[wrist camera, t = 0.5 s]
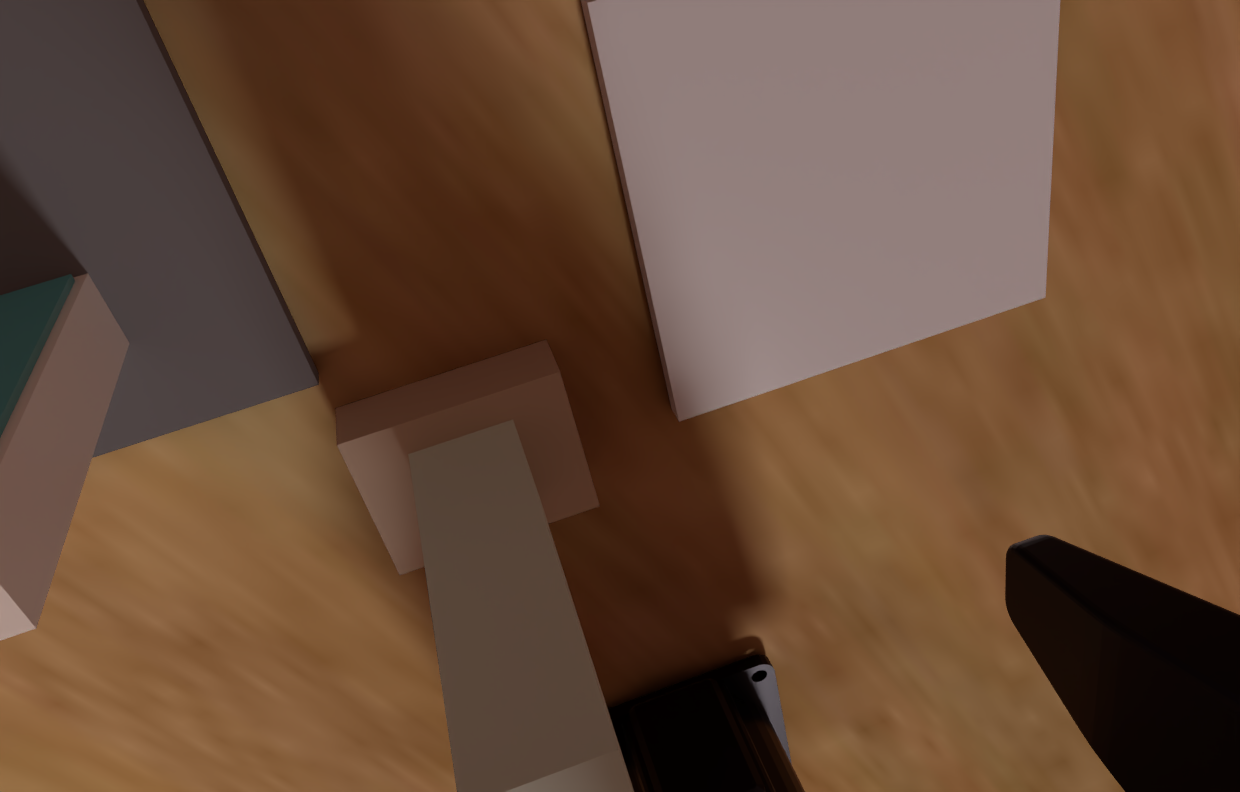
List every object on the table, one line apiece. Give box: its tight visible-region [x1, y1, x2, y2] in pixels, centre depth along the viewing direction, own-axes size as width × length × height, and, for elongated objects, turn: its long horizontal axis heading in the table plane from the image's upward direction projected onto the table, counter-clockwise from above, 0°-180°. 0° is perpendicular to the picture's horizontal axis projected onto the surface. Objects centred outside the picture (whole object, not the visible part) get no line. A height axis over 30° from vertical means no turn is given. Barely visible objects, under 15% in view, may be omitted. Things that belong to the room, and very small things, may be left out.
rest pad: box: [581, 0, 1060, 422], centre depth 22 cm, size 10×10×1 cm
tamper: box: [335, 340, 634, 792], centre depth 19 cm, size 4×5×10 cm
